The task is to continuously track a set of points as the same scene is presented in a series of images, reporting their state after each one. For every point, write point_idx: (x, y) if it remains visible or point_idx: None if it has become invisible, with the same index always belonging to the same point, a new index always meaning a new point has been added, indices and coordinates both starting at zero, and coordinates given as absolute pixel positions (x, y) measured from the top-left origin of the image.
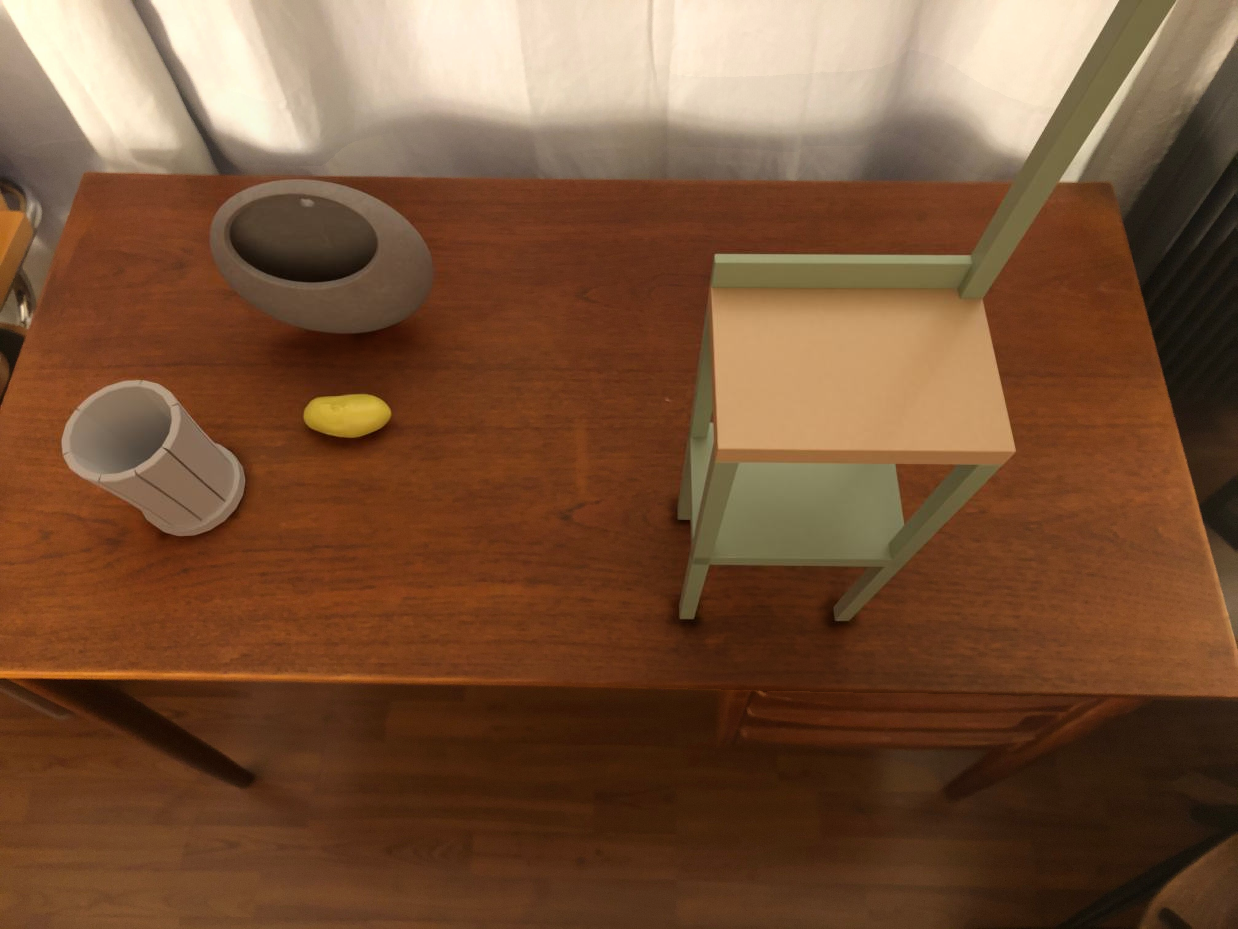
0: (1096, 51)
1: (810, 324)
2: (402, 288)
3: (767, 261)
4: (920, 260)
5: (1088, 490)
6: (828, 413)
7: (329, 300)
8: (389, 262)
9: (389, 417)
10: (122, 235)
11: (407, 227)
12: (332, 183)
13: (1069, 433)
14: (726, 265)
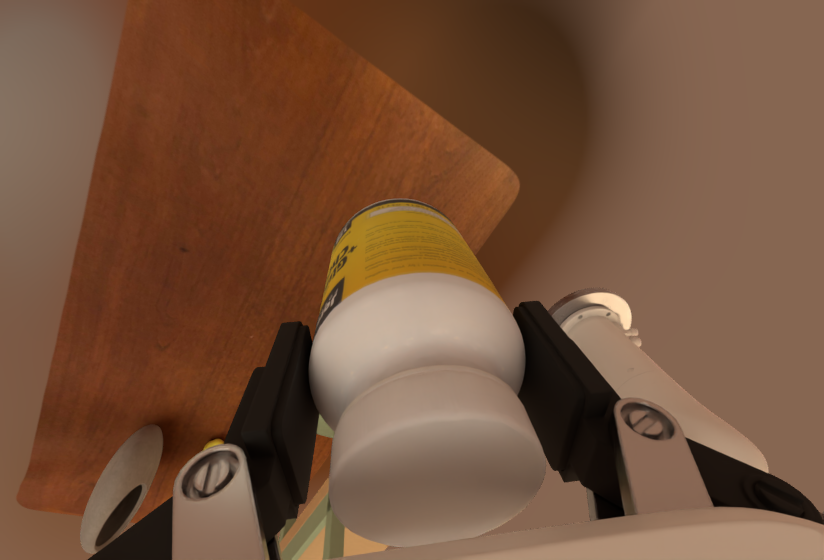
0: None
1: (321, 541)
2: (151, 456)
3: None
4: (317, 532)
5: (406, 169)
6: (369, 546)
7: (151, 481)
8: (139, 478)
9: (220, 441)
10: (64, 500)
11: (118, 478)
12: (88, 526)
13: (369, 150)
14: None
